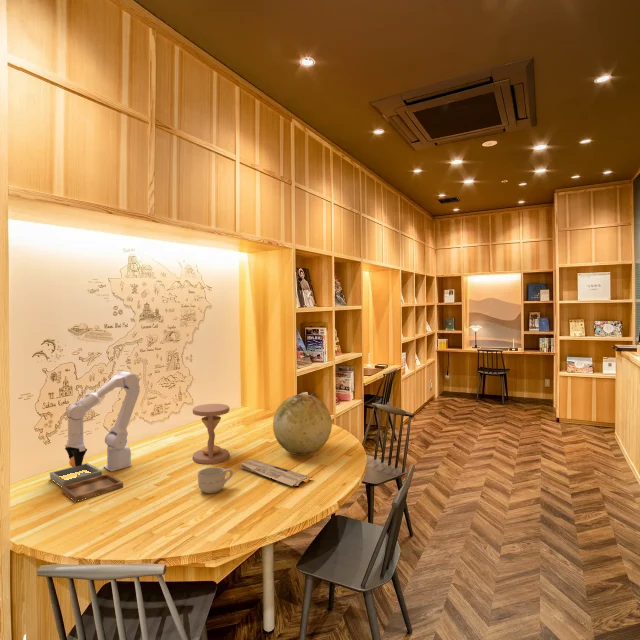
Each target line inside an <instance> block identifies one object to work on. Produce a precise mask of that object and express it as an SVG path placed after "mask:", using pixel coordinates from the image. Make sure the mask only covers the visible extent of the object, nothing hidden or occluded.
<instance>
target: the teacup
mask: <svg viewBox="0 0 640 640" xmlns="http://www.w3.org/2000/svg"><path fill="white" fill-rule="evenodd" d="M228 472H229V473H230V474H229V475H228V476H227V477H226V474H227V473H228ZM233 475H234V473H233V469H232V468H226V469H225V468H223V467H219V466H212V467H210V466H209V467H206V468H202V469H200V470H199V471H198V472H197V483H198V488H199V490H201V491H202V492H203V493H204V494H213V493H217V492H219V491H221V490H222V488H223V487H224V486H225V484H226V483H227V482H228V481H230V479H231V478H232V477H233Z"/></svg>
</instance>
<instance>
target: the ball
mask: <svg viewBox="0 0 640 640" xmlns="http://www.w3.org/2000/svg"><path fill="white" fill-rule="evenodd" d="M69 466H70V467H76V465H75V460H74V456H73V457H72V458H71V459H69ZM77 467H79V466H77Z"/></svg>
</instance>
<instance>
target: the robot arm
mask: <svg viewBox="0 0 640 640" xmlns="http://www.w3.org/2000/svg"><path fill="white" fill-rule="evenodd" d="M115 388H123V389H124V391H125V392H126V393H125V396H124V399H123V401H122V404H121V406H120V409H119V412H118V415H117V417H116V420H115V424H114V425H113V426H112V427H111V428H110V429H109V432H108V433H107V434H106V436H105V438H104V443H105V444H106V445H107V449H106V450H107V451H106V453H107V459H106V464H107V465H104V466H103V468H104V467H105V468H104V469H106V470H108V471H109V470H110V472H115V471H118V470H121V469H125V468H129V467H131V466H132V465H133V464H132V461H131V460H132V457H131V456H132V454H131V453H132V452H131V448H130V446H129V445H127V444H128V434H129V433H128V432H129V431H128V430H127V428H128V426H129V422H130V420H131V417H132V414H133V411H134V409H135V406H136V404H137V400H138V398H139V395H140V390H141V389H140V377H139V376H138V374H136V373H134V372H128V371H125V370H122V371H120V372H118V373H117V374H114V375H113V377H112V378H111V379H110V380H109V381H107V382H106V383H105V384H103V385H102V386H101V387H100V388H99V389H97V390H96V391H95V392H90V393H85V395H84V396H83V397H82V398H80V400H79V401H75V402H74V403H75V404H71V405H69V406H68V407H67V409H66V410H65V412H64V414H65V416H66V417H67V440H66V444H65V446H64V450H65V451H66V453H67V455H68V459H69V460H70V459H71V458H72V457H73V456H74V460H75V465H76V467H77V466H81V465H82V464H83V462H84V458H85V455H86V453H87V451H88V448H86V445H85V442H84V441H85V440H84V417H85V415H86V413H87V412H88V411H90V410H91V409H93V408H94V407H95V406H96V405H97V404H99V403H100V401H101V399H102V398H103V397H104V396H106V395H107V394H108V393H109V392H111V391H113V390H114V389H115Z"/></svg>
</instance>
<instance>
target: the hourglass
mask: <svg viewBox="0 0 640 640" xmlns="http://www.w3.org/2000/svg"><path fill="white" fill-rule="evenodd" d="M229 412H230V406H229V405H227V404H223V403H207V404H206V403H205V404H201V405H196V406H194V407H193V408H192V415H195V416H197V417H202V418H201V422H202V423H203V424H204V426H205V428H206V429H207V434H208V438H207V445H206V446H204V447H203V448H201V449H199V450H196V451H195V452H193V454H192V460H193V462H194V463H196V462H197V464H200V463H201V465H213V464H214V463H215V464H219V462H220V463H222V461H223V462H225V461H226V459H227V460H228V459H229V458H230V451H229V449H226V448H224V447H223V448H221V446H219V445H215V438H216V433H215V429H216V427H217V426H218V424H219V423H220V422H221V419H222V417H221V416H223V415H226V414H228V413H229Z"/></svg>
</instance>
